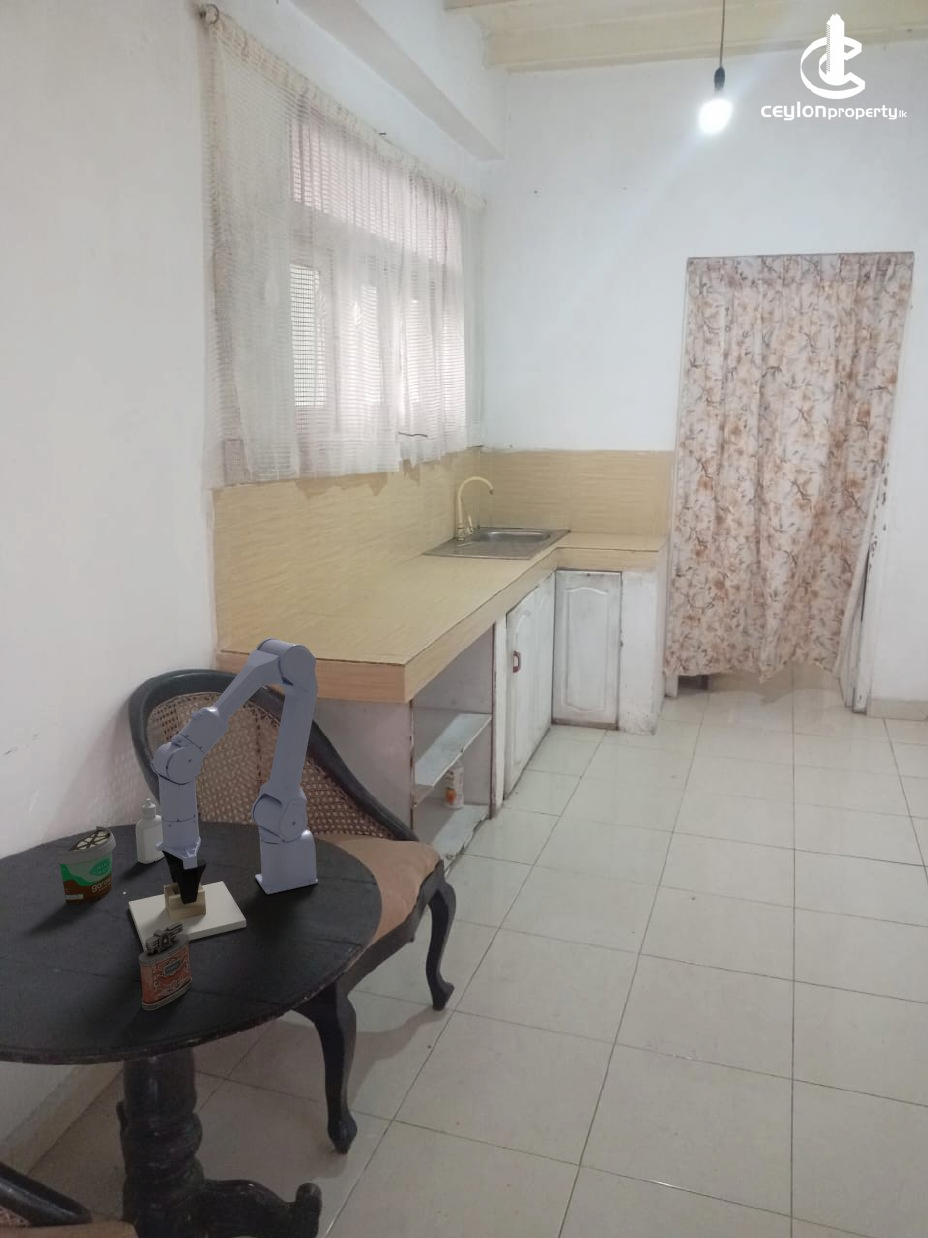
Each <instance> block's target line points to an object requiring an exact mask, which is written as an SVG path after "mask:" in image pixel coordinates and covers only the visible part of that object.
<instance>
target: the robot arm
mask: <svg viewBox="0 0 928 1238" xmlns="http://www.w3.org/2000/svg"><path fill="white" fill-rule="evenodd" d="M316 665H317V658H316V657H315V656H314V655H313V653H312V652H311V651H310V649H309V648H308V647H306V646H305V645H302V644H299V643H298V644H295V643H291V642H287V641H283V640H280V639H278V638H275V637H268V638H265V639H263V640H262V641H260V643H259V644H258V645H257V647H256V649H253V650H252V651H251V652H250V653H249V655H248V658H247V661H246V663H245V665H244V666H243V667H242V669H240V671H239V673H238V674H237V675H236V676H235V678H234V679H233V680H232V681H231V682H230V684H229V685H228V686H227V688H226V689H225V690H224V691H223V692H222V694H221V695H220V696H219V698H217V700H216V701H215V703H214V704H213V705H212V706H207V707H204V706H203V707H201V708H200V709H199V710H198V711H197V710H194V711H193V712H192V713H191V715H190V719H189V721H188V722H187V723H185V725H184V727H182V729H181V730H180V731H179V732H178V733H177V734H174V735H173V736H172V737H171V738H170V740H171V741H168V742H166V743H163V744H161V745H160V746H159V747H158V748H157V749H156V751H155V753H154V754H153V758H152V760H151V761H150V763H149V764H150V768H151V770H152V771H153V772H154V773H155V774H156V775H157V777H158V787H159V803H160V805H159V806H160V816H161V821H162V834H163V841H162V842H160V843H156V849H157V851H162V853H163V854H164V857H165V860H166V864H167V866H168V871H169V875H170V878H171V881H172V883H177V884H178V888H179V893H180V897H181V900H182V902H183V904H188V903H193V902H196V900H197V896H198V889H199V883H201V878H202V876H203V874H204V872H205V870H206V867H207V862H206V860H205V859H200V860H198V856H197V855H198V851H199V849H200V846H201V843H202V842H201V837H200V832H199V829H200V828H199V814H198V802H197V801H198V800H197V787H196V786H197V785H196V777H198V776H199V774H200V773H201V770H202V763H203V760H205V756H206V755H207V754H208V753H209V752H210V751H211V750H212V749H213V748H214V746H215V745H216V744H217V743H218V742H219V741H220V739H221V738H223V736H225V734H226V733H227V732H228V731H229V719H230V718H232V716H233V715H234V714H235V713H236V712H237V711H238V710H240V708H241V707H243V705H244V704H245V703H246V702H247V701H248V700H249V699H250V698H251V697H252V696H253V695H254V694H255V693H256V692H257V691H259V689H260V688H262V687H266V686H272V685H278V686H279V687H280V688H281V690H282V691H283V692H284V694H285V697H284V700H283V707H282V712H281V716H280V717H281V718H280V723H279V726H278V727H279V728H278V733H277V739H276V744H275V749H274V755H273V760H272V765H271V771H270V774H269V779H268V780H267V781H266V782H264V783H263V785H261V786H260V788H259V792H258V795H257V798H256V800H255V801H254V802H253V805H252V806H251V811H250V816H251V820H252V822H253V823H254V824H255V825H256V826H258V833H259V848H260V849H259V850H260V865H261V866H260V867H261V868H260V869H261V871H260V872H261V873H259V874H255V876H254V877H255V880H256V881H257V882H258V883H259V886H261V889H262V890H263V891H264V892H265V894H266V895H272V894H276V893H279V892H284V891H289V890H292V889H297V888H301V887H306V886H309V885H310V886H311V885H315V884H317V883H318V882H319V879H318V878H317V877H318V875H317V858H316V857H317V856H316V855H317V854H316V852H317V851H316V844H315V839H314V836H313V833H312V831H311V830H310V829H307V825H308V821H309V820H308V814H307V802H308V799H307V796H306V794H305V792H304V790H303V788H302V786H301V782H302V775H303V771H304V766H305V761H306V755H307V750H308V745H309V739H310V735H311V729H312V724H313V719H314V718H313V717H314V712H315V708H316V703H317V697H318V692H319V691H318V690H319V686H318V685H319V684H318V680H317V675H316V671H315V670H316Z"/></svg>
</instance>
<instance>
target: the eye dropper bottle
mask: <svg viewBox="0 0 928 1238" xmlns="http://www.w3.org/2000/svg"><path fill="white" fill-rule="evenodd" d="M141 809H142V818H141V819H140V820H138V822H137V823H136V825H135V837H136V838H135V843H136V855H137V862H138V863H141V864H145V865H147V864H151V863H154V861H155V862H157V861H160V860H161V859H163V858H164V857H165V856H164V854H163V853H162V851H157V849H156V843H160V842H162V841H163V834H162V821H161V815H159V814H157V807H156V804H154V803H152V800H151V798H146V800H145V804H144V805H142V808H141Z"/></svg>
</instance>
